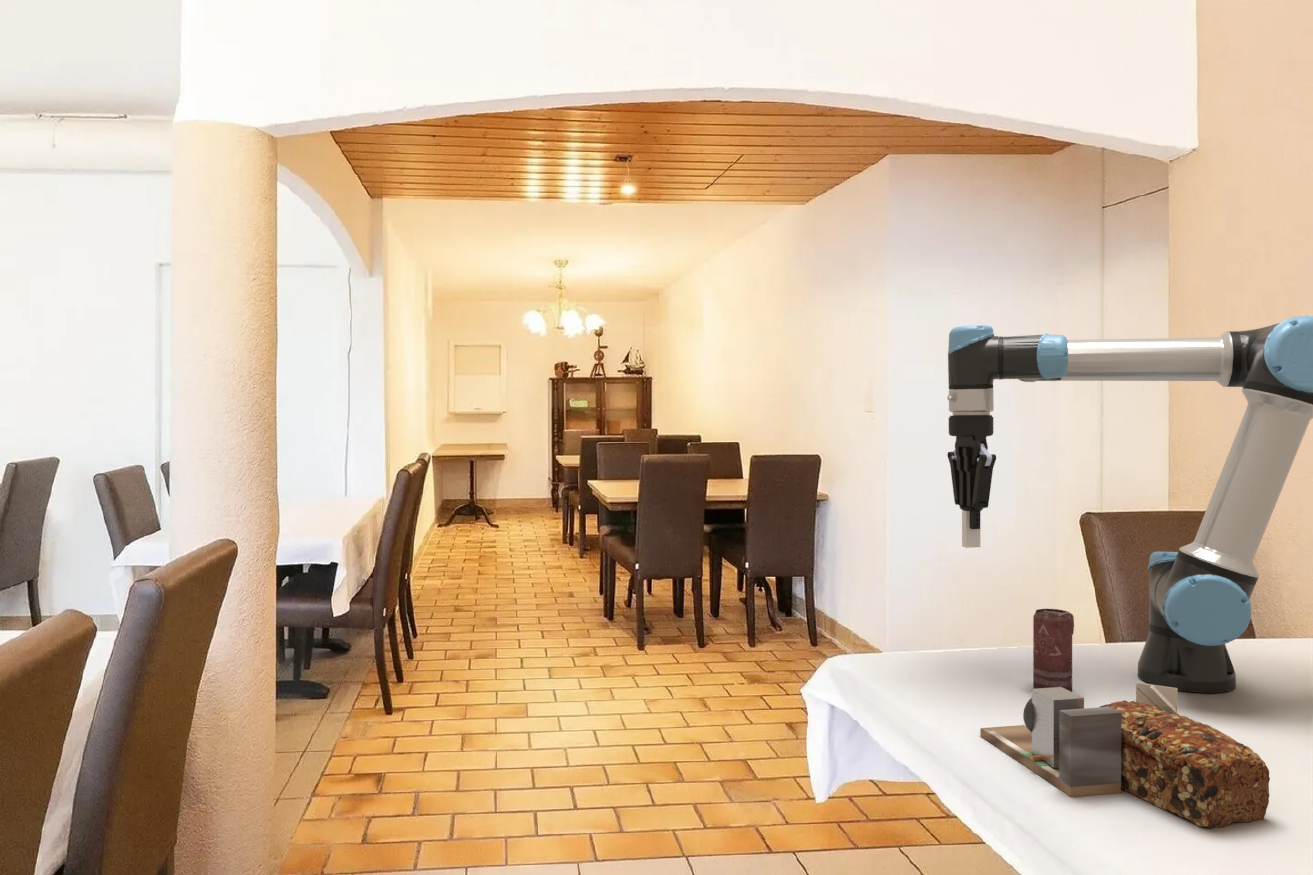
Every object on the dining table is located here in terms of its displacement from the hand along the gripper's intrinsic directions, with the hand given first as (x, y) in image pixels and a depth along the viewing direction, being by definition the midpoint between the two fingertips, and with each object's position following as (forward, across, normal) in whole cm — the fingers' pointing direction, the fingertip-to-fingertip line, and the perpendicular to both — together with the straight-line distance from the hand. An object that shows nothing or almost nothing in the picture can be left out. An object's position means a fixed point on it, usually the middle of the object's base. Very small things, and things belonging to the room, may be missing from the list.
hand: (971, 546), depth 163 cm
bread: (+25, +49, +1) cm, 55 cm away
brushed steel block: (+23, +39, -9) cm, 46 cm away
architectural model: (+25, +29, +14) cm, 41 cm away
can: (+25, +8, +11) cm, 28 cm away
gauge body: (+24, +35, -9) cm, 43 cm away
